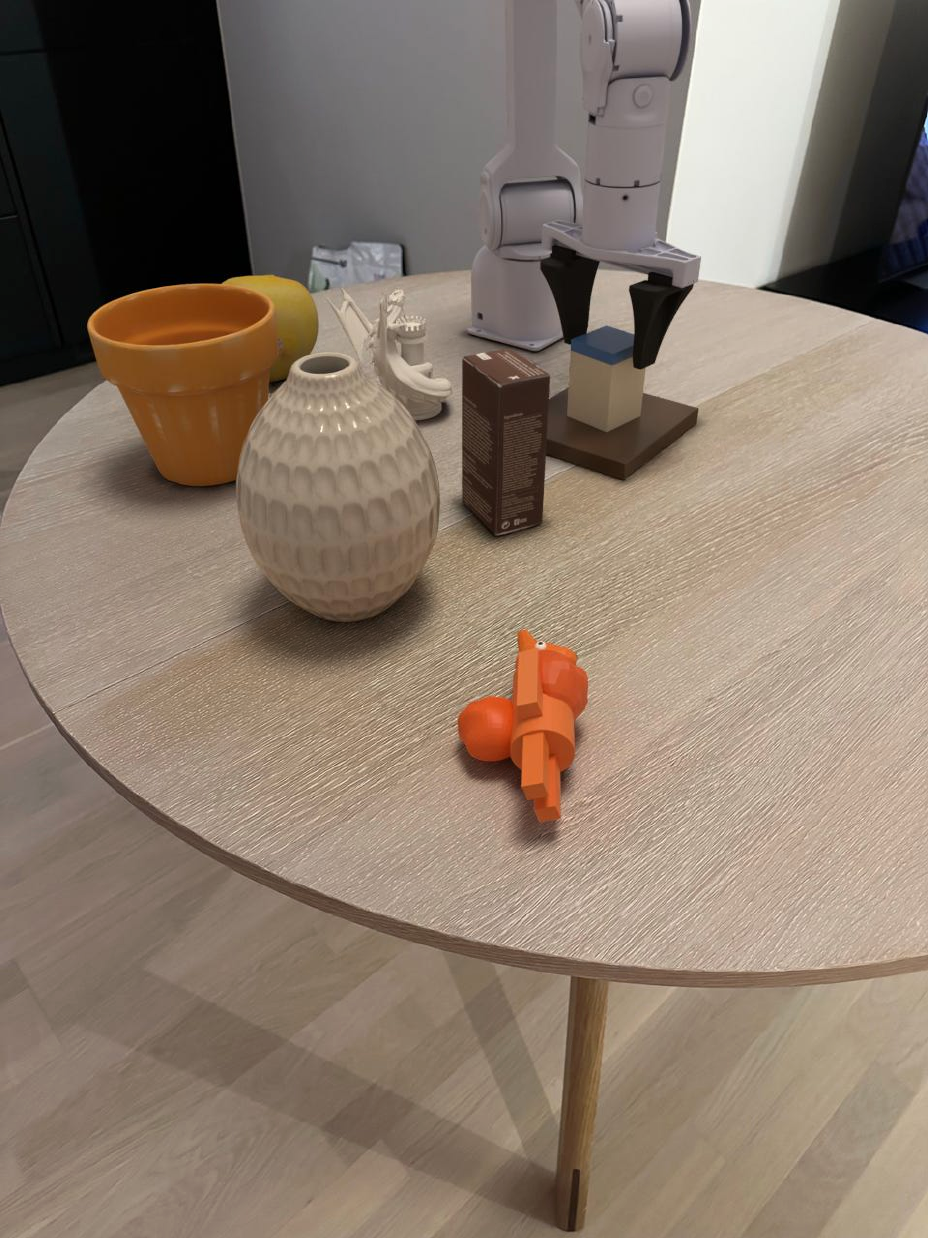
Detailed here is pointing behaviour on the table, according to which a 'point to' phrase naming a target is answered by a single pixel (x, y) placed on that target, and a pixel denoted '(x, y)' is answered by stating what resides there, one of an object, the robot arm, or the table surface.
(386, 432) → the vase
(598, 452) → the board
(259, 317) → the flower pot
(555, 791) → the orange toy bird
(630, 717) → the table surface
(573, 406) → the carton
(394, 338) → the figurine
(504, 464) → the box
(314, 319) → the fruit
